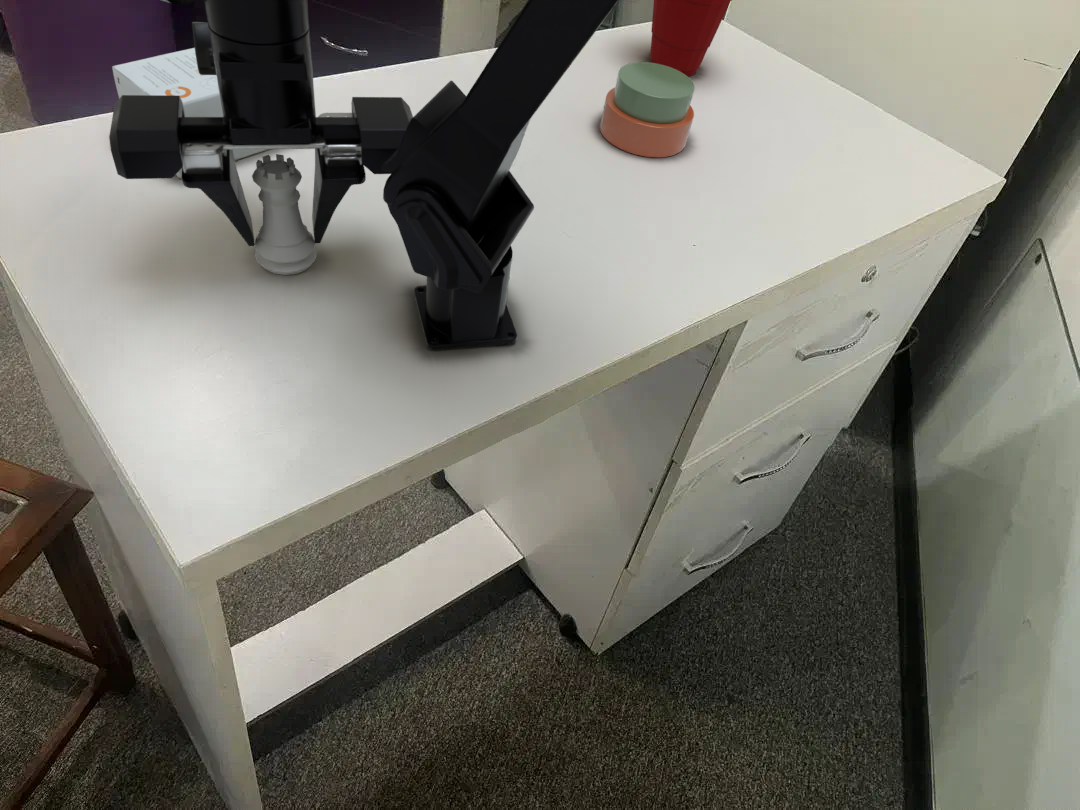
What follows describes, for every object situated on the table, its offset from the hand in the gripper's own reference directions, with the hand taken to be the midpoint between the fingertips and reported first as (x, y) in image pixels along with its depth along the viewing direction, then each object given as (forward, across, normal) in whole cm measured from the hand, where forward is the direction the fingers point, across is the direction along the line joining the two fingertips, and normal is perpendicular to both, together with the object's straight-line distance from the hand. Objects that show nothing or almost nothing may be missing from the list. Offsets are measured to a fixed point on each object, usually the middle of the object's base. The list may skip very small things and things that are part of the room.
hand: (285, 241), depth 58 cm
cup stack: (+2, -36, -18) cm, 40 cm away
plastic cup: (+2, -46, -34) cm, 57 cm away
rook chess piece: (+2, 0, 0) cm, 2 cm away
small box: (-1, -1, -22) cm, 22 cm away
